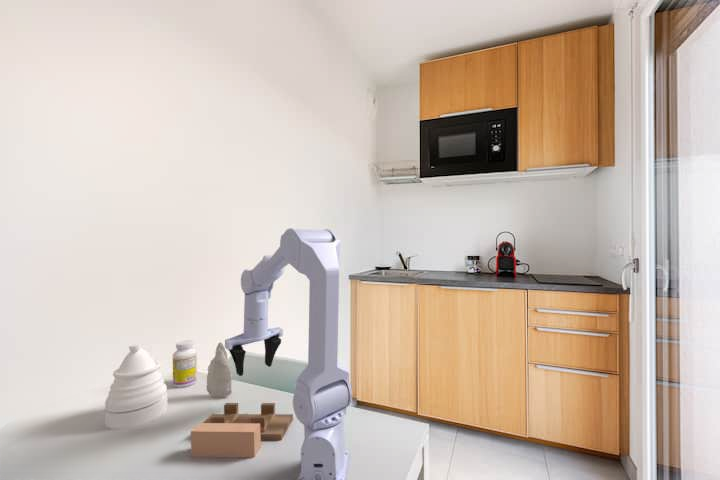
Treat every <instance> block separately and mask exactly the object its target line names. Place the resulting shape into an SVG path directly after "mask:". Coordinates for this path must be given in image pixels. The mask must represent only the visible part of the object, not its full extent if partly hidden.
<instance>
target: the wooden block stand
mask: <svg viewBox="0 0 720 480" xmlns="http://www.w3.org/2000/svg"><path fill="white" fill-rule="evenodd" d="M293 420H294V415H293V414H291V413H290V414H289V413H286V414H285V413H284V414H281V413H280V414H279V413H277V414H276V403H275V402H262V403H261V404H260V413H259V414H258V413H252V414H251V413H249V414H248V413H239V402H225V403H224V404H223V413H211V415H210V416H208V417H206V419H205V420H204V421H203V422H202V423H260V435H261V441H282V440H283V439H284V437H285V435H286V433H287V431H288V429H289V428H290V426H291V423H292V421H293Z"/></svg>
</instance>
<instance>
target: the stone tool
mask: <svg viewBox="0 0 720 480" xmlns="http://www.w3.org/2000/svg"><path fill="white" fill-rule="evenodd" d="M214 354H215V356H214V357H213V358H212V359H211V360H210V363H209V365H208V368H207V374H206V391H207V393H208V395H210V396H211V397H212V398H213V397H214V398H219V399H221V398H227V397H229V396H230V395H232V392H233V391H232V390H233V389H232V383H233V381H232V378H233V375H232V369H231V364H230V361H229V358H228V353H227V349H226V348H225V345H224V344H223V342H219V343H218V344H217V346H216V349H215V353H214Z"/></svg>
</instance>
